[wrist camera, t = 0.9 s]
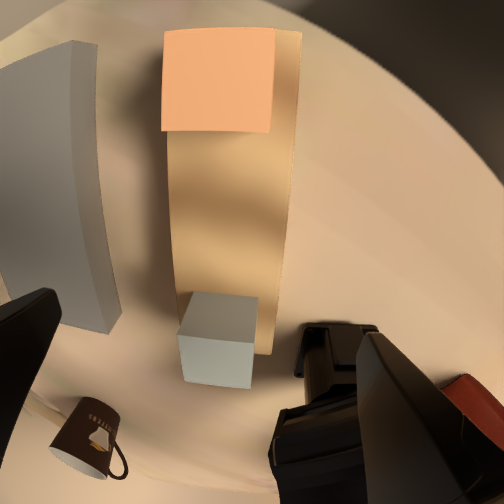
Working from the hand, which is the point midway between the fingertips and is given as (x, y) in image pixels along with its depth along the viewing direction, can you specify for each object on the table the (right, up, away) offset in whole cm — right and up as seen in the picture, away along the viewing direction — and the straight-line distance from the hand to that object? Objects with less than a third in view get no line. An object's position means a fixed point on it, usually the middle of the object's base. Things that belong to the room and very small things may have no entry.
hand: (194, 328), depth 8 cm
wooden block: (0, +6, +12) cm, 13 cm away
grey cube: (0, -2, +12) cm, 12 cm away
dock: (-16, +7, +12) cm, 21 cm away
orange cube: (+1, +10, +5) cm, 11 cm away
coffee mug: (-20, -22, +28) cm, 41 cm away
